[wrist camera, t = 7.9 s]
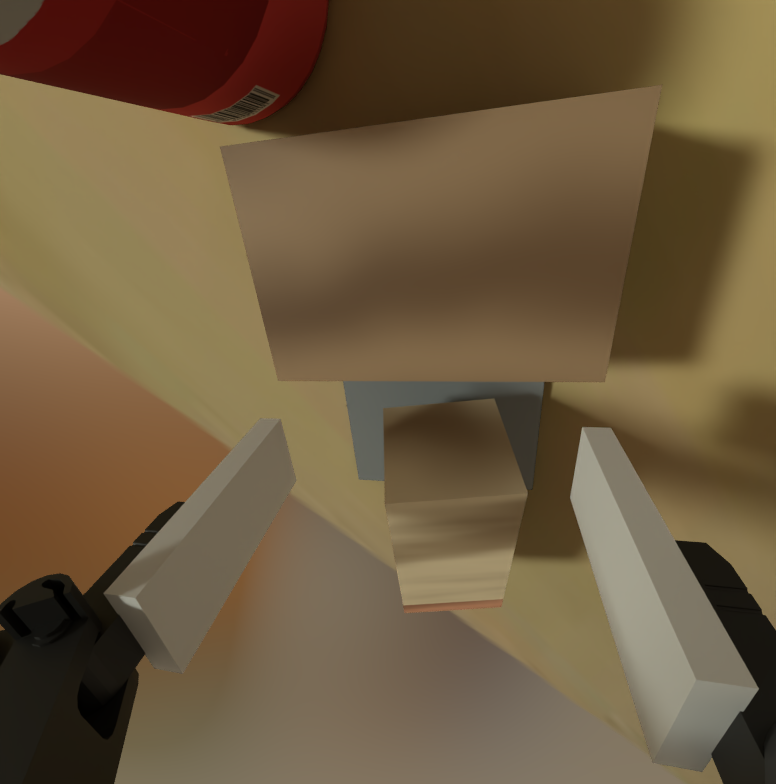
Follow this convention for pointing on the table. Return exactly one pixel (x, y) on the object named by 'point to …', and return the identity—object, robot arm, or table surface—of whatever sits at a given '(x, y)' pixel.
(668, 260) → the table surface
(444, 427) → the block
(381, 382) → the mat
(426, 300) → the step
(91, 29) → the canned food
